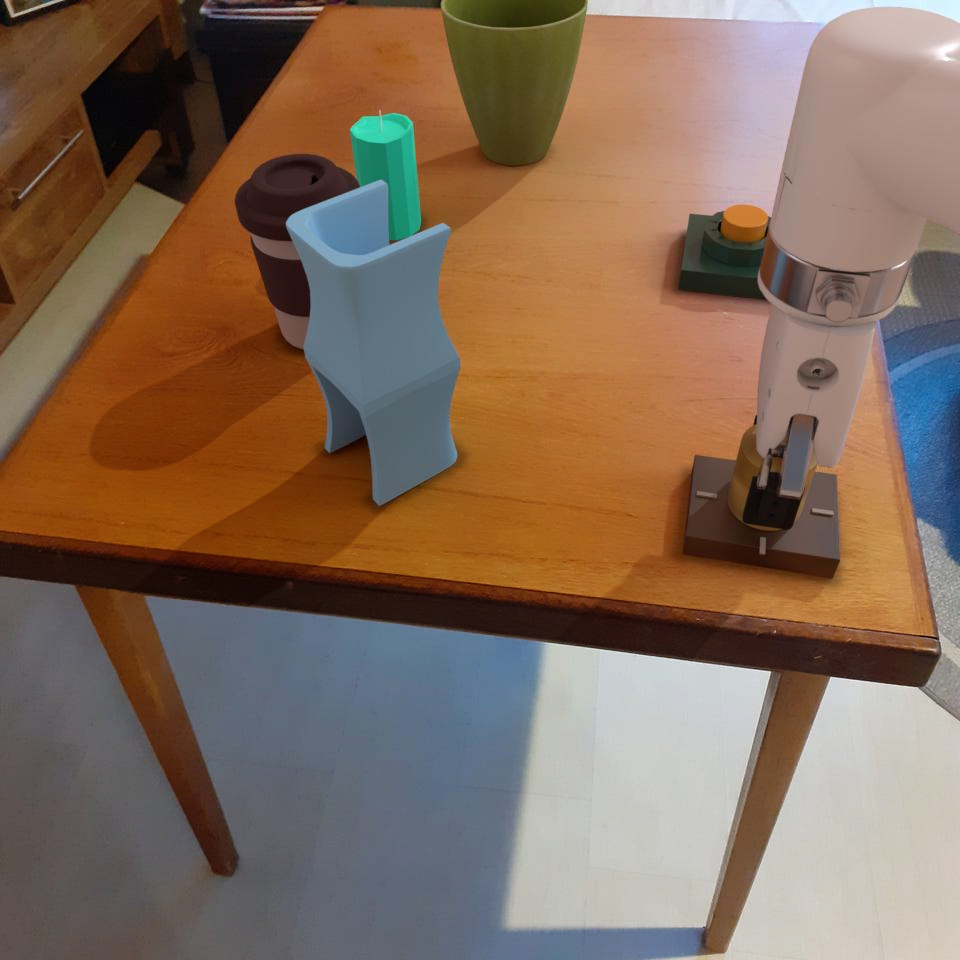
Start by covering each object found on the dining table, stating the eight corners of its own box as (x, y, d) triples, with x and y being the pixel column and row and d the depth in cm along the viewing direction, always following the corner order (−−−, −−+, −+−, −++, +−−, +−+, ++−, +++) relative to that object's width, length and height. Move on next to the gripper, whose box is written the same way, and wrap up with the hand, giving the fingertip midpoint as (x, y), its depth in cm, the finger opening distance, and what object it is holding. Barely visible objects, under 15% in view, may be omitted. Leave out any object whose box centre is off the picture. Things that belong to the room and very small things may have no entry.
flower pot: (423, 146, 106) (412, -2, 95) (524, 109, 112) (525, -35, 100) (502, 197, 98) (501, 41, 86) (607, 154, 104) (618, 2, 92)
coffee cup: (244, 339, 82) (202, 183, 71) (317, 284, 87) (289, 132, 76) (328, 377, 78) (298, 218, 67) (400, 318, 83) (383, 162, 72)
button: (765, 223, 86) (768, 206, 85) (764, 246, 83) (767, 229, 82) (721, 219, 87) (724, 202, 85) (719, 241, 84) (722, 224, 83)
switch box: (790, 243, 90) (799, 206, 87) (789, 302, 83) (799, 264, 80) (686, 233, 92) (692, 196, 89) (677, 290, 85) (683, 252, 82)
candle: (430, 214, 96) (421, 100, 87) (408, 244, 92) (397, 128, 83) (377, 206, 97) (363, 93, 88) (353, 235, 93) (336, 120, 84)
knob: (723, 477, 66) (737, 416, 61) (794, 478, 65) (813, 418, 61) (732, 530, 62) (747, 470, 58) (807, 532, 62) (828, 472, 58)
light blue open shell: (465, 458, 71) (452, 227, 56) (379, 506, 67) (342, 274, 53) (407, 405, 75) (382, 178, 61) (324, 448, 72) (276, 218, 57)
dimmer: (830, 487, 67) (837, 466, 66) (833, 585, 61) (841, 565, 60) (691, 467, 69) (695, 447, 68) (681, 561, 63) (685, 541, 62)
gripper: (920, 371, 43) (826, 600, 57) (895, 191, 55) (821, 417, 68) (757, 351, 45) (702, 580, 58) (765, 180, 56) (718, 403, 69)
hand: (767, 490), depth 63 cm, fingers closed on knob, 5 cm apart
